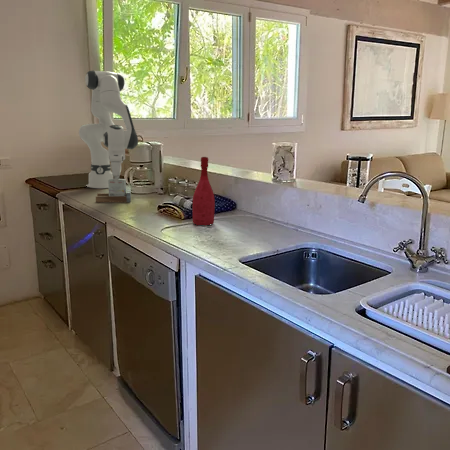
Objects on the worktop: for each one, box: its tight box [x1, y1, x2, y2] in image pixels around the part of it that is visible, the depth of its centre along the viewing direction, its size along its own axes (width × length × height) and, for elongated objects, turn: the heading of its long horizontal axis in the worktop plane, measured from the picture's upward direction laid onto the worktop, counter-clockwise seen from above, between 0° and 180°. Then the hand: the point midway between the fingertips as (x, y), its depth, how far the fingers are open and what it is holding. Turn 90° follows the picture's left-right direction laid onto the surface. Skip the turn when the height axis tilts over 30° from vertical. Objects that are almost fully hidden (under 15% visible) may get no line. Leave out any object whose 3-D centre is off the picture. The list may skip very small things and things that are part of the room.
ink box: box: [108, 178, 127, 196], centre depth 251 cm, size 9×5×12 cm, turn 87°
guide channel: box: [95, 189, 132, 203], centre depth 252 cm, size 10×18×5 cm, turn 100°
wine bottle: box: [192, 156, 216, 226], centre depth 203 cm, size 10×10×30 cm
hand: (117, 181), depth 250 cm, fingers open, 8 cm apart
